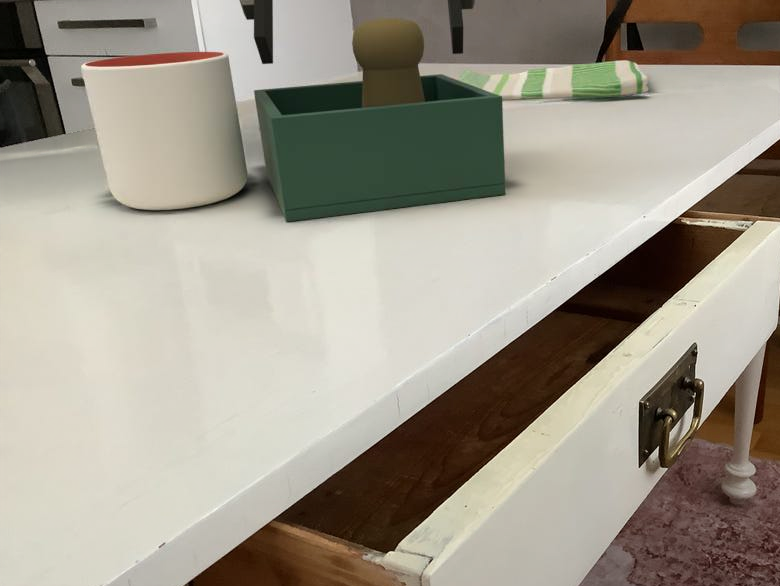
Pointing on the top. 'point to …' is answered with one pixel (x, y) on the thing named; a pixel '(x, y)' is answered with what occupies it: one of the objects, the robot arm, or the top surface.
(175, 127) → the cup
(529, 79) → the dish towel
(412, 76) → the cork
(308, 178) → the tub
